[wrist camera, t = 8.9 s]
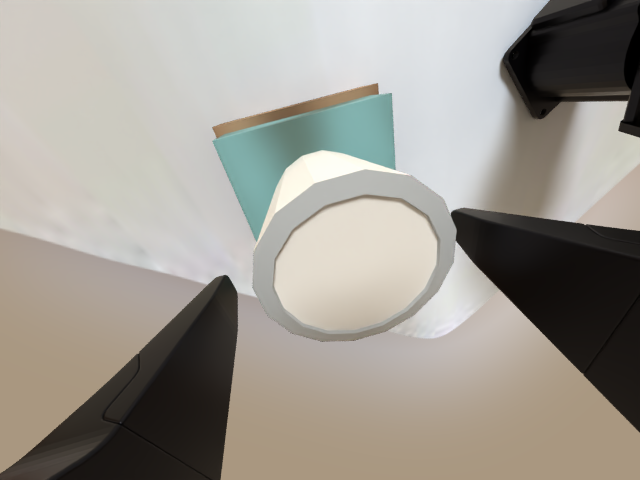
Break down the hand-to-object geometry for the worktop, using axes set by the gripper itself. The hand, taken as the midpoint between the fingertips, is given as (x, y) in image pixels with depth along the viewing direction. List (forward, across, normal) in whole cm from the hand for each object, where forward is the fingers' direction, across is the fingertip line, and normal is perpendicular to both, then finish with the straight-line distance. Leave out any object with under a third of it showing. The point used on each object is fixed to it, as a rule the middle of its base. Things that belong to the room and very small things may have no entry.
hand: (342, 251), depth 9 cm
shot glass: (+6, 0, 0) cm, 6 cm away
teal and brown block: (+11, 0, 0) cm, 11 cm away
